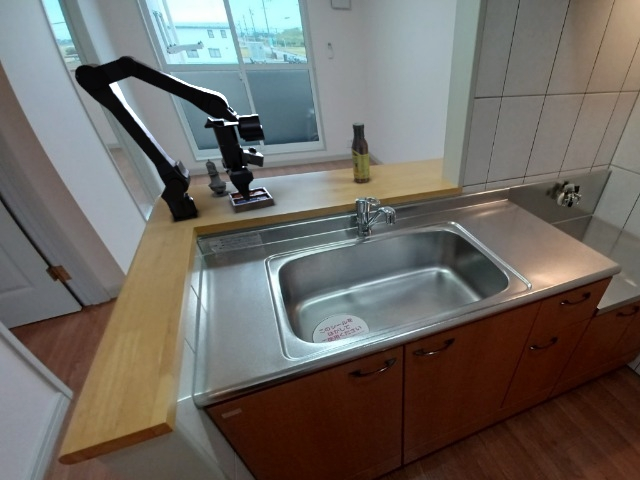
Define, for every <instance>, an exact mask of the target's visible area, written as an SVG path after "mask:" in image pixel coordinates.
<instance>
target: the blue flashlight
mask: <svg viewBox="0 0 640 480" xmlns="http://www.w3.org/2000/svg"><path fill="white" fill-rule="evenodd" d="M262 199H267V197H266V196H261V197H258V198H253V199H250V200H249V201H246V200H243V201H238V202H237V204H242V203H247V202H252V201H257V200H262Z"/></svg>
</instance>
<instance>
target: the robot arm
mask: <svg viewBox="0 0 640 480" xmlns="http://www.w3.org/2000/svg"><path fill="white" fill-rule="evenodd" d="M131 77H132V78H135V79H137V80H139V81H142V82H144V83H146V84H148V85H151V86H153V87H155V88H156V89H157V88H158V89H160V90H162V91H164V92H166V93H168V94H171V95H173V96H175V97H178V98H180V99H182V100H184V101H187V102H189V104H192V105H193V106H194V107H196V108H197V109H199V110H200V111H201V112H203V113H205V114H207V115H208V117H207V119H206V122H205V123H204V124H203V125H204V126H203V127H204V129H212V130H213V133H214V136H215V140H216V143H217V146H218V150H219V152H220V155H221V160H220V163H221V165H222V167H223V170H224V171H225V173H226V174H227V175H228V179H229V180H230V182H231V185H233V187H234V188H235V189H236V190H237V192H239V193H240V194H241V195H242V196H243V198H244V199H245V200H246V201H249V200H250V195H249V190H250V185H251V183H252V182H254V180H255V177H254V174H253V172H252V170H251V169H250V168H248V167H249V165H252V166H257V167H260V168H263V167H264V161H265V156H264V155H263V154H262V153H260V152H258V151H257V149H256V147H254V146H253V147H252V146H249V148H247V149H244V148H243V147H242V146H241V143H240V141H239V138H240V139H242V140H243V141H244V142H245V143H250V142H259V141H266V139H265V138H266V137H265V133H264V130H263V126H262V125H261V120H260V116H259V114H257V113H254V114H251V115H239V114H238V113H237V112H236V111H235V110H234V109H233V108H232V107H231V106H230V105H229V102H228V100H227V98H226V97H225V96H224V95H223V94H222V93H220V92H217V91H214V90H211V89H209V88H203V87H200V86H196V85H193V84H190V83H187V82H186V81H183V80H181V79H179V78H177V77H175V76H172V75H170V74H168V73H166V72H164V71H163V70H160V69H158V68H156V67H153V66H151V65H150V64H147V63H146V62H144V61H141V60H139V59H137V58H136V57H134V56H132V55H122V56H120V57H119V58H118V59H115V60H111V61H109V62H105V63H102V64H98V63H94V62H93V63H87V64H86V63H85V64H80V65H78V66H77V67H76V68H75V70H74V78H75V81H76V83H77V85H79V87H80V88H81V89H83V90H84V91H85V92H86V93H87V94H88V95H89V96H90V97H91V98H92V99H94V101H96V102H97V103H99V104H100V106H103V107H104V108H105V109H106V110H108V111H109V112H110V113H111V115H112V116H113V117H114V118H115V120H116V121H117V122H118V123H119V124H120V125H121V126H122V128H123V129H124V130H125V132H126V133H127V134H128V135H129V136H130V138H131V139H132V140H133V141H134V142H135V143H136V144H137V146H138V147H139V148H140V150H141V151H142V152H143V153H144V155H146V157H147V158H148V159H149V160H150V161H151V163H152V164H153V166H154V167H155V169H156V171H157V175H158V176H159V178H160V180H161V181H162V183H163V185H164V188H163V189H162V193H161V194H160V198H161V199H162V200H163V201H164V202H165V203H166V205H167V207H168V209H169V212H170V213H171V216H172V219H173V222H179V221H183V220H189V219H194V218H198V217H199V216H198V213H199V210H198V207H197V205H196V203H195V200H194V198H193V197H191V196H190V194H189V192H188V190H189V188H190V185H191V181H192V179H191V176H190V171H189V170H188V169H187V168H186V167H185V165H184V164H183V162H182V161H181V159H177V160H176V161H175V160H174V159H173V158H171V157H170V156H169V155H168V154H167V152H166V151H165V150H164V149H163V148H162V146H161V145H160V144H159V142H158V141H157V140H156V138H155V137H154V136H153V135H152V133H151V132H150V131H149V130H148V128H147V127H146V126H145V125H144V123H143V122H142V120H140V118H139V117H138V116H137V114H136V113H135V112H134V110H133V109H132V108H131V106H130V105H128V103H127V101H126V98H125V96H124V94H123V92H122V90H121V88H120V85H119V84H118V82H121V81H122V80H125V79H128V78H131ZM211 117H212V118H213V119H212V118H211ZM236 128H237V130H236ZM237 132H238V134H237ZM238 135H239V137H238Z"/></svg>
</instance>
